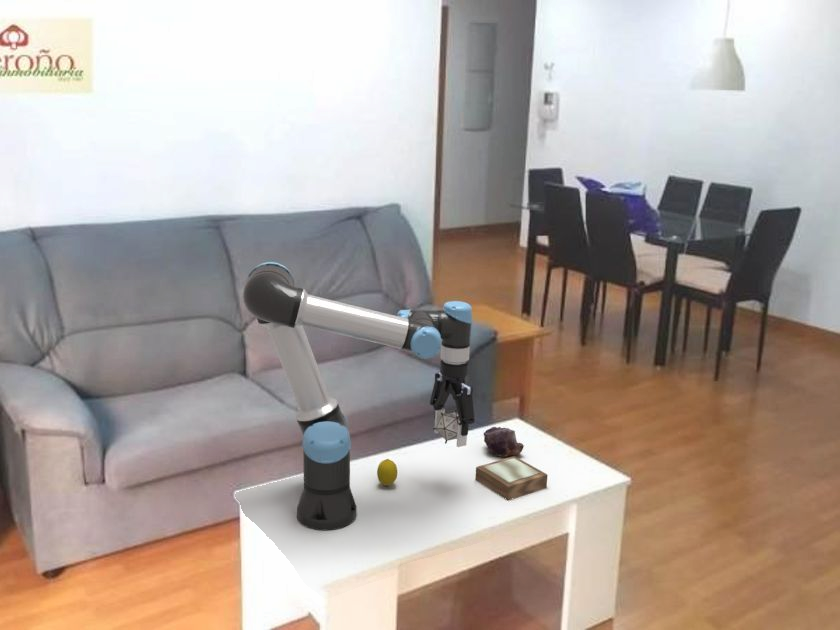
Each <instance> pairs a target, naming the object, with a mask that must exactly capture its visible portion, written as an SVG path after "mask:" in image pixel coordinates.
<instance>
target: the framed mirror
mask: <svg viewBox="0 0 840 630" xmlns="http://www.w3.org/2000/svg"><path fill="white" fill-rule="evenodd" d="M475 481H476V482H477V483H479V484H481V485H483V486H484V487H485V488H487V489H488V490H491V491H492V492H494V493H495V494H497V495H498V494H499V496H500V497H502V498H503V497H504V498H503V499H505V498H506V499H507V500H506V499H505V500H506V501H510V500H512V498H513V499H515V498H519V496H520V497H522V496H526V495H528V494H531V493H535V492H538V491H541V490H544V489H547V487H548V474H547V473H545V472H544V471H542V470H540V469H538V468H537V467H535V466H533V465H531V464H529V463H527V462H526V461H524V460H522V459H521V458H519V457H517V456H515V455H512V456H510V457H509V456H508V457H506V458H503V459H499V460H495V461H492V462H489V463H486V464H483V465H479V466H476V467H475Z"/></svg>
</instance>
